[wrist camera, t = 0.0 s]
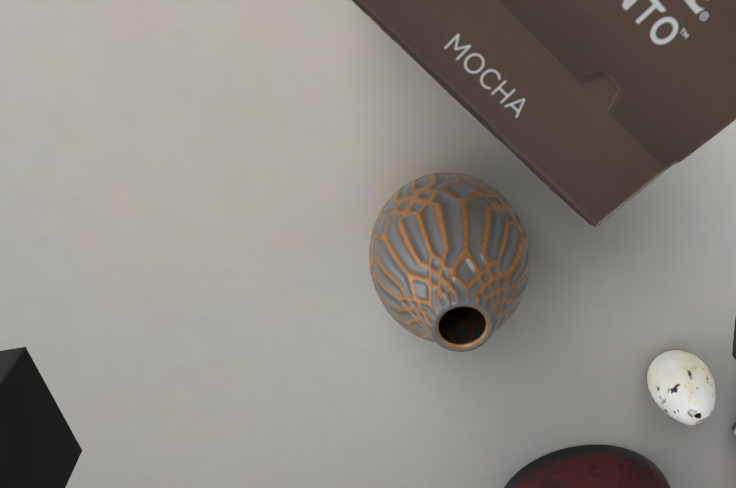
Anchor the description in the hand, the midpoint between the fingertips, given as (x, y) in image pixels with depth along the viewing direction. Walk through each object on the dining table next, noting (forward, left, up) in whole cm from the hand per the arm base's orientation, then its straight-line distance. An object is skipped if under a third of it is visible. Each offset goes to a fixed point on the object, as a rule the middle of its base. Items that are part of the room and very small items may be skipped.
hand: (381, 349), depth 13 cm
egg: (+19, +13, -20) cm, 31 cm away
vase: (+8, +2, -20) cm, 22 cm away
